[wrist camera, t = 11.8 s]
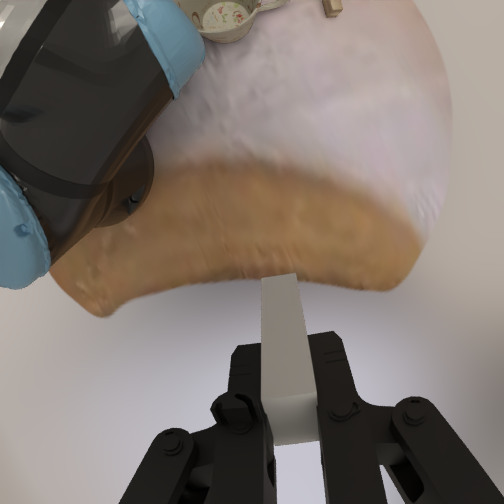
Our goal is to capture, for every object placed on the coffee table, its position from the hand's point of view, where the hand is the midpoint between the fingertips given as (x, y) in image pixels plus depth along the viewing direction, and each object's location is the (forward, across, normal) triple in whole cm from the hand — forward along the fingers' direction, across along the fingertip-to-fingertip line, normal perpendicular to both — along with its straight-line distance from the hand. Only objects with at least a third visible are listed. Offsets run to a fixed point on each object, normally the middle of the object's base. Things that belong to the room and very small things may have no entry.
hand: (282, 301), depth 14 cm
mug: (+27, +1, +20) cm, 34 cm away
